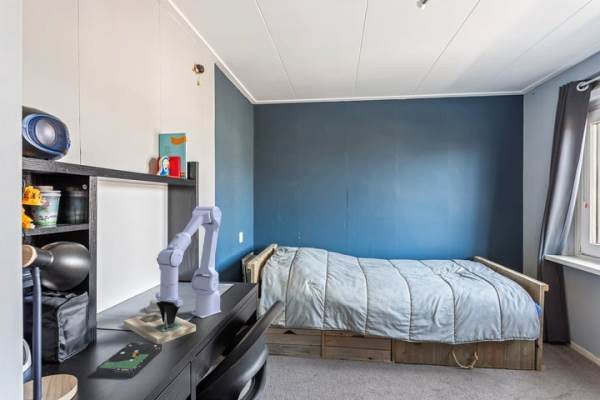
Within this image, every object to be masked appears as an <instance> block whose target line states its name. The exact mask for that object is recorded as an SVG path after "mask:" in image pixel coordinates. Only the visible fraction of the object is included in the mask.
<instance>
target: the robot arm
mask: <svg viewBox="0 0 600 400" xmlns="http://www.w3.org/2000/svg"><path fill="white" fill-rule="evenodd" d="M191 215H192V216H191V219H190V220H189V221H188V223H187V225H186V226H185V228H184V229H183V231H182V232H178V233H176V234H175V236H174V238H173V239H172V240H171V242H170V243H169V244H168V246H167V247H166V248H164V249H162V250H161V251H159V253H158V255H157V257H156V261H157V264H158V269H159V270H160V279H159V282H160V283H159V284H160V285H159V287H160V288H159V289H160V290H159V292H155V298H157V301H160V302H157V303H156V304H157V306H158V308H159V310H160V313H161V317H162V321H163V322H165V312H166V317H167V324H168V325H170V324H173V323H174V321H175V318H176V317H177V314H178V311H179V309H180V308H181V307H182V306H184V299H183V298H181V296H180V295H179V266H180V264H181V263H182V262H183V258H184V257H183V256H184V254H185V251H186V249H187V248H188V247H189V246H190V244H191V243H192V238H191V237H192V236H193V235H194V233H196V232H197V230H198V229H199V228H200V227H201V226H202V227H203V228H204V231H205V232H204V239H203V245H202V253H201V259H200V266H199V268H198V269H196V270H195V271H194V274H193V277H192V279H191V282H190V283H191V284H190V285H191V289H193V292H194V293H195V302H194V303H195V305H194V306H195V308H194V310H195V311H194V310H193V311H192V312H190V314H191V315H193V316H196V317H198V318H201V319H205V318H207V317H210V316H213V315H216V314H219V313H221V312H222V310H221V295H220V291H219V290H218V288H219V285H220V284H219V283H220V282H219V273H218V272H217V270H215V268H214V266H215V258H216V251H217V245H218V239H219V237H218V236H219V231H220V226H221V222H222V221H221V220H222V215H223V213H222V211H221V209H220V208H219V206H201V205H198V206H196V207H195V208H194V209H193V211H192V212H191ZM164 309H165V311H164Z"/></svg>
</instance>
